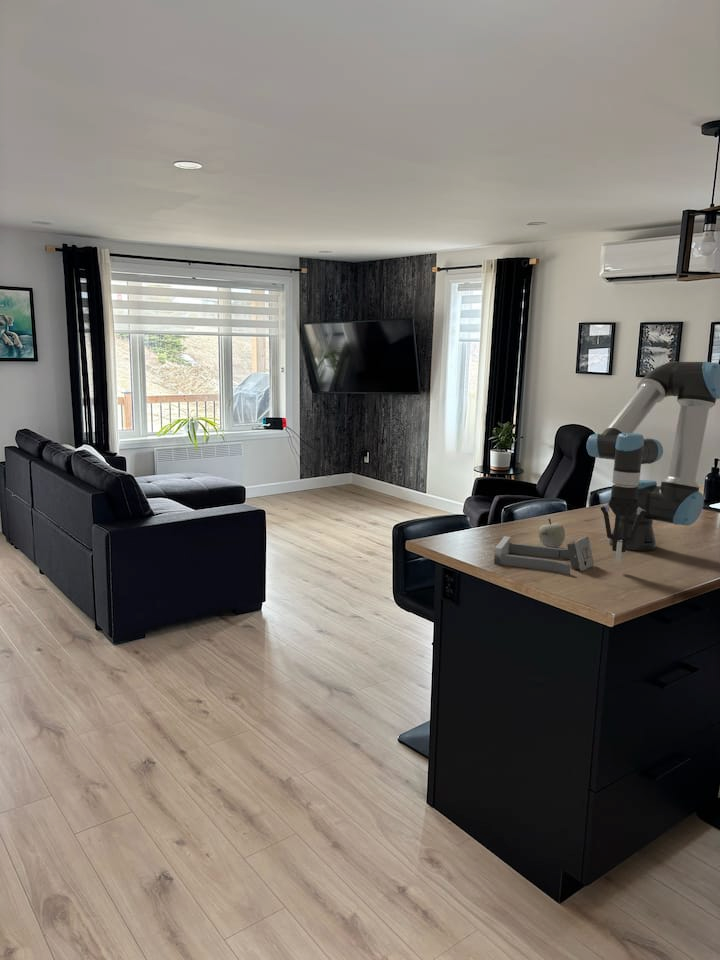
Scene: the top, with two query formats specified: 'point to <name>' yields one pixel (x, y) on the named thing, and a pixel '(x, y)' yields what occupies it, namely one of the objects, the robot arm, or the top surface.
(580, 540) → the electrical switch
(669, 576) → the top surface
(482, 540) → the top surface
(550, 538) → the decorative object
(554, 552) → the rail channel
